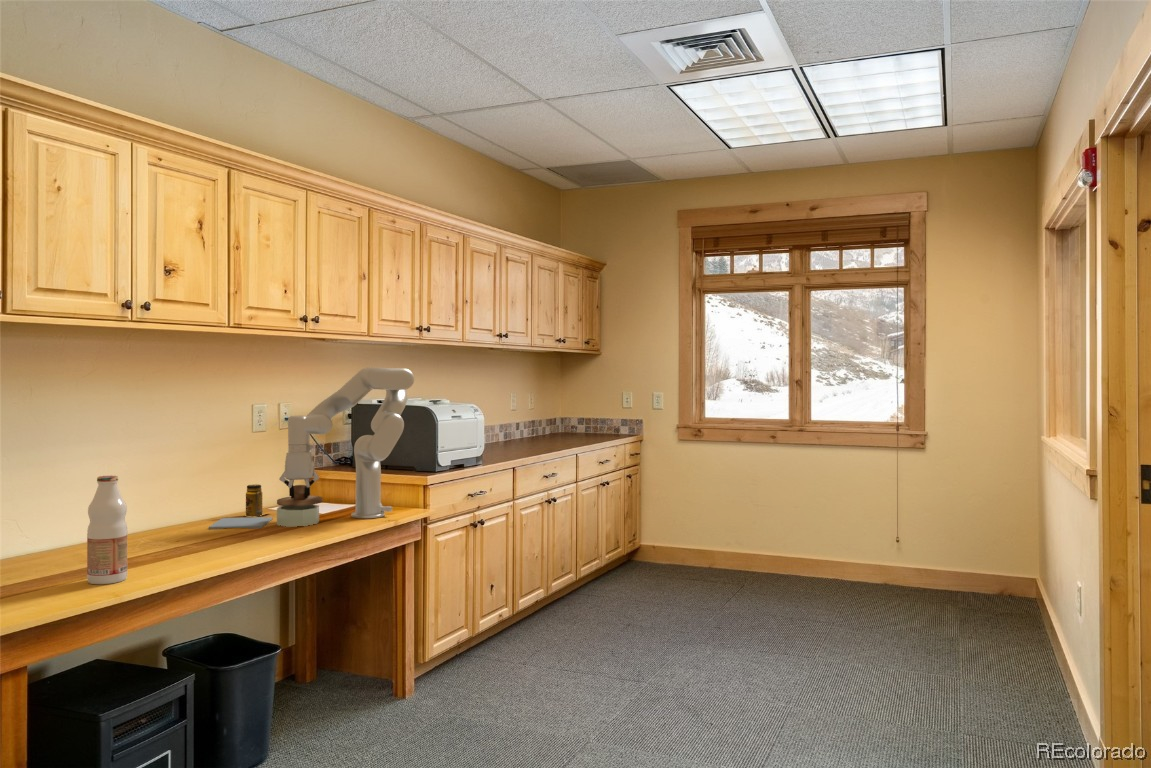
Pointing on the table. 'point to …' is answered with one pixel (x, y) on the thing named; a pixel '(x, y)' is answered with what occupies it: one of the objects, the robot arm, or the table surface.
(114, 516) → the fruit juice
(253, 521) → the mat
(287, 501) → the lid
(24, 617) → the table surface
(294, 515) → the bowl
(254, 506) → the condiment
